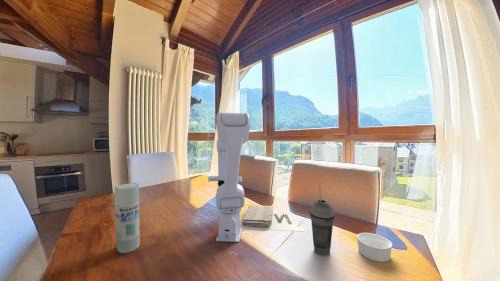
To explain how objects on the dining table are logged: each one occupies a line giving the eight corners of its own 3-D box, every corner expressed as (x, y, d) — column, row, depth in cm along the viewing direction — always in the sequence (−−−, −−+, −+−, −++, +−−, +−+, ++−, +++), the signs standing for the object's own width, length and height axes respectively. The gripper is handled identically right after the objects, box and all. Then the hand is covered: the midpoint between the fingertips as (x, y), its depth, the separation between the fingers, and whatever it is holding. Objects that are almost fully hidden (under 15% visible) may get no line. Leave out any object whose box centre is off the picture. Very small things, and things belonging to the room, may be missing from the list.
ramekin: (350, 246, 61) (350, 232, 61) (377, 244, 62) (377, 231, 62) (369, 265, 53) (370, 249, 52) (400, 263, 53) (400, 247, 53)
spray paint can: (135, 239, 66) (134, 182, 66) (143, 246, 62) (141, 185, 62) (113, 248, 61) (111, 186, 61) (120, 256, 57) (118, 189, 57)
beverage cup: (318, 260, 54) (318, 190, 54) (304, 246, 61) (304, 184, 61) (340, 256, 56) (340, 188, 56) (324, 242, 63) (324, 182, 63)
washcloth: (241, 227, 75) (241, 219, 75) (248, 209, 92) (248, 202, 92) (272, 228, 73) (271, 220, 73) (273, 210, 91) (273, 203, 91)
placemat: (304, 231, 71) (304, 231, 71) (240, 229, 73) (240, 228, 73) (296, 209, 92) (296, 209, 92) (246, 208, 94) (246, 207, 94)
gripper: (242, 165, 87) (243, 195, 87) (211, 165, 88) (211, 194, 89) (240, 168, 80) (240, 200, 80) (206, 167, 81) (206, 199, 82)
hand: (225, 197), depth 84 cm, fingers closed
